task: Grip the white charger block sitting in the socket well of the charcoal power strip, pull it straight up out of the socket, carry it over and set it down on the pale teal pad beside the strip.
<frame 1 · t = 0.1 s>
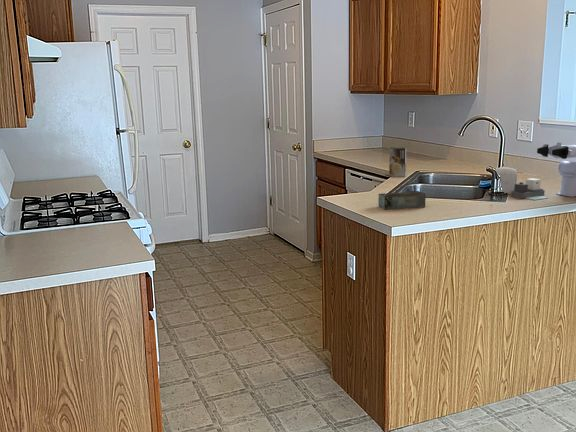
hand: (545, 151, 253), 22 cm above the countertop, tool horizontal, fingers open, 7 cm apart
pad: (536, 198, 260), on the countertop
coffee box: (397, 176, 326), on the countertop
charger: (532, 189, 267), point 2 cm above the countertop, touching power strip
power strip: (527, 195, 266), on the countertop
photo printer: (504, 193, 273), on the countertop
beverage carton: (401, 207, 247), on the countertop
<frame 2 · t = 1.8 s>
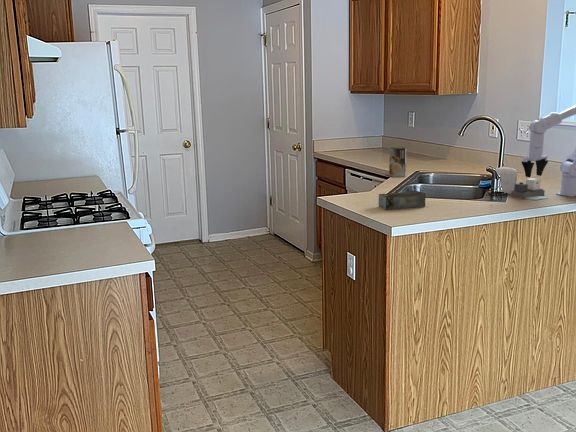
hand: (533, 176, 265), 9 cm above the countertop, tool pointing down, fingers open, 7 cm apart
nothing on the countertop moved.
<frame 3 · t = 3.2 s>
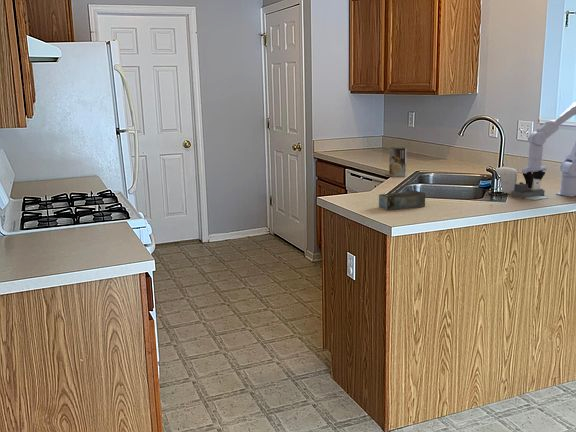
hand: (532, 187, 267), 4 cm above the countertop, tool pointing down, fingers closed on charger, 4 cm apart
charger: (532, 189, 267), point 2 cm above the countertop, touching gripper, power strip
everything else where it was.
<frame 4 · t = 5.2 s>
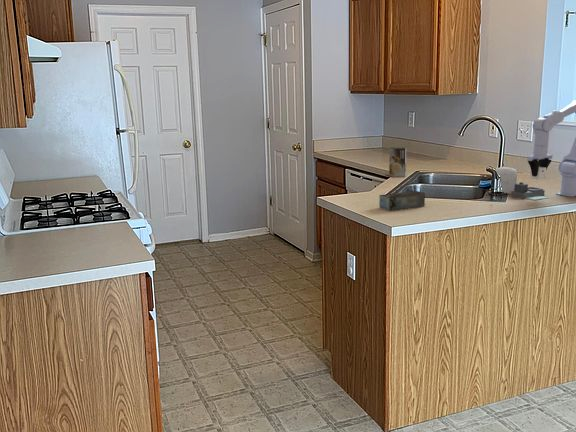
hand: (538, 175, 258), 10 cm above the countertop, tool pointing down, fingers closed on charger, 4 cm apart
charger: (537, 178, 258), point 9 cm above the countertop, touching gripper
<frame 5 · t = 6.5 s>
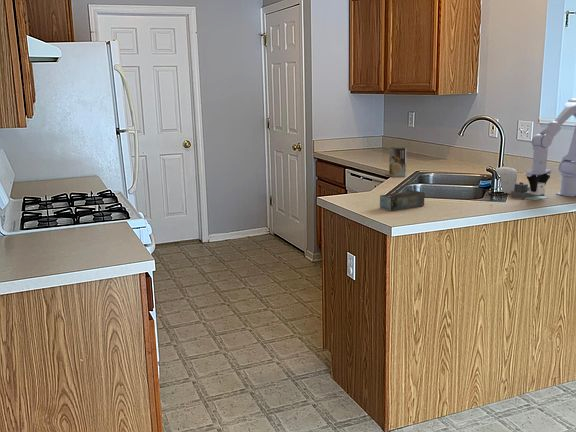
hand: (537, 191, 259), 3 cm above the countertop, tool pointing down, fingers closed on charger, 4 cm apart
charger: (536, 193, 260), point 2 cm above the countertop, touching gripper
when the fingers open (3 cm above the countertop, at t = 7.5 s): charger drops 1 cm, resting on pad.
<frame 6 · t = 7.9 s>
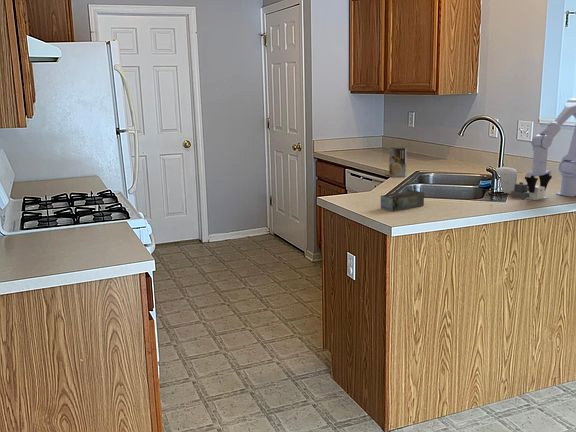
hand: (537, 191, 259), 3 cm above the countertop, tool pointing down, fingers open, 7 cm apart
charger: (536, 197, 260), resting on pad
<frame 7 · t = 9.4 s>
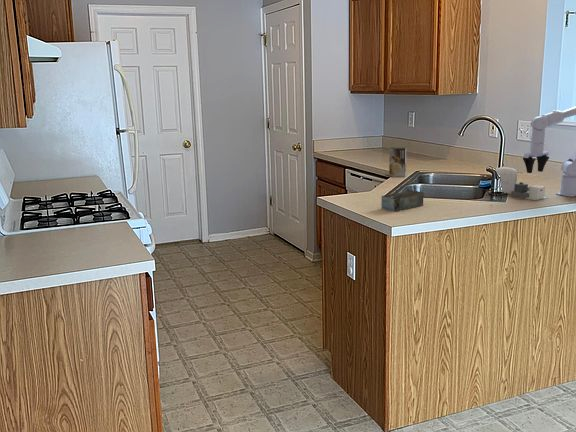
hand: (534, 172, 267), 10 cm above the countertop, tool pointing down, fingers open, 7 cm apart
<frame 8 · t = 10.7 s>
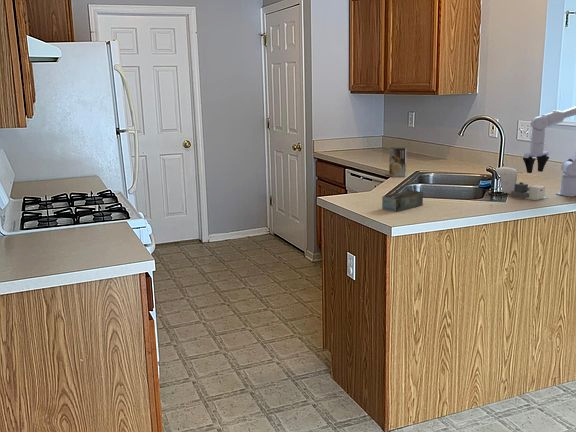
hand: (534, 172, 267), 10 cm above the countertop, tool pointing down, fingers open, 7 cm apart
at the end: charger inside the target area on the pad (0.1 cm from its centre), point 0.4 cm above the pad's base; charger tilted 0°; charger touching pad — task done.
